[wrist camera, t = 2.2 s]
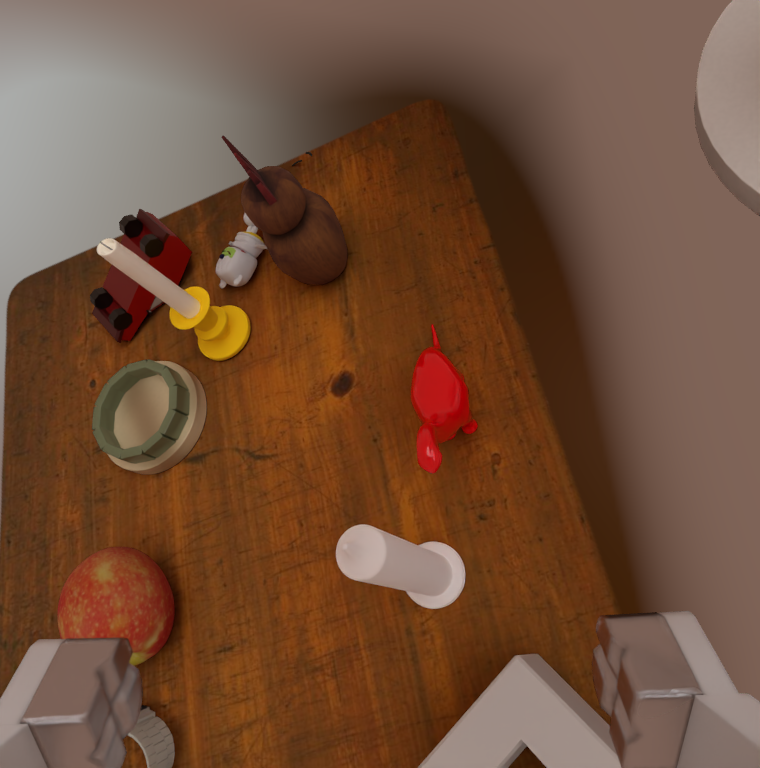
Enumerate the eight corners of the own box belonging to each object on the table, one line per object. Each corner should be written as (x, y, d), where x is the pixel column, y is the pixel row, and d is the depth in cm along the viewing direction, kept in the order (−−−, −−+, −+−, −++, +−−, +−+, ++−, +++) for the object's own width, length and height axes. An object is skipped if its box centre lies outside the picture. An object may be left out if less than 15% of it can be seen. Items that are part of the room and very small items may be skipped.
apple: (121, 684, 51) (37, 691, 44) (102, 581, 55) (23, 572, 48) (206, 641, 50) (134, 641, 43) (181, 539, 54) (111, 523, 47)
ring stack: (178, 345, 61) (155, 330, 58) (225, 422, 56) (202, 411, 53) (98, 415, 61) (71, 404, 58) (137, 498, 57) (110, 490, 54)
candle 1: (243, 297, 60) (125, 197, 46) (257, 344, 57) (136, 252, 44) (195, 323, 61) (65, 232, 47) (206, 371, 58) (73, 289, 45)
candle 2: (406, 611, 45) (303, 598, 32) (401, 545, 47) (302, 507, 33) (469, 606, 44) (390, 590, 30) (462, 538, 46) (384, 495, 32)
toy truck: (106, 343, 60) (154, 348, 65) (153, 231, 57) (201, 243, 61) (79, 310, 63) (126, 316, 67) (122, 201, 60) (169, 215, 64)
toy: (305, 130, 58) (225, 279, 56) (331, 153, 60) (255, 298, 58) (268, 138, 63) (193, 275, 61) (292, 159, 65) (221, 293, 63)
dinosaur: (456, 317, 52) (405, 232, 41) (508, 502, 45) (464, 459, 35) (409, 333, 53) (348, 254, 42) (454, 517, 46) (395, 480, 36)
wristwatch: (189, 705, 48) (143, 712, 44) (179, 806, 46) (130, 824, 42) (89, 702, 51) (37, 708, 47) (76, 796, 49) (20, 812, 45)
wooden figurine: (293, 241, 60) (194, 131, 47) (350, 220, 59) (265, 99, 46) (300, 305, 57) (198, 206, 44) (361, 284, 56) (274, 175, 43)
